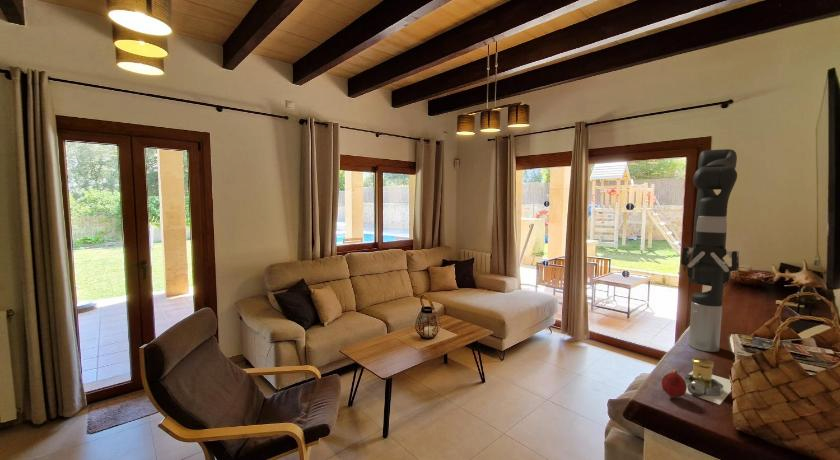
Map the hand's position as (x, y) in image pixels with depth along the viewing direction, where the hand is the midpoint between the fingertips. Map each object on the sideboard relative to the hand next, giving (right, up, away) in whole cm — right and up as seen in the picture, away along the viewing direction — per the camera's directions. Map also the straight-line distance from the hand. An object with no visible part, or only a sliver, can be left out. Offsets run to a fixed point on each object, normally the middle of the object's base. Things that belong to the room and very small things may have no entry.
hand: (707, 281), depth 117 cm
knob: (-10, -30, -10) cm, 33 cm away
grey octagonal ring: (-11, -30, -11) cm, 34 cm away
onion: (-21, -31, -14) cm, 40 cm away
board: (-7, -31, -8) cm, 33 cm away
